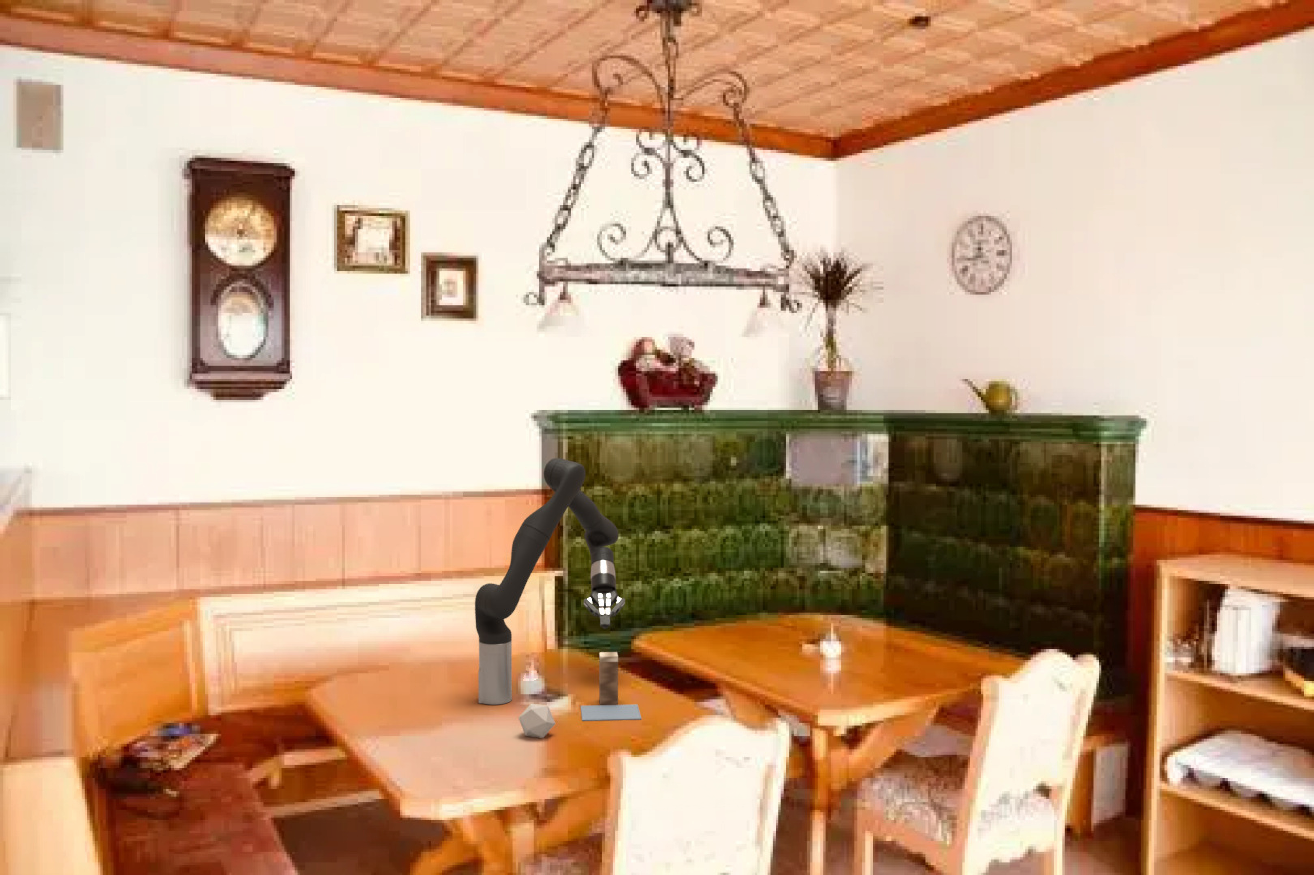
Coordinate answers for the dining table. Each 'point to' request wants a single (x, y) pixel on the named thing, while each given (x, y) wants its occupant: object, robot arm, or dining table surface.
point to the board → (610, 712)
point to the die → (536, 720)
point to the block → (608, 678)
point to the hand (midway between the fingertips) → (605, 627)
